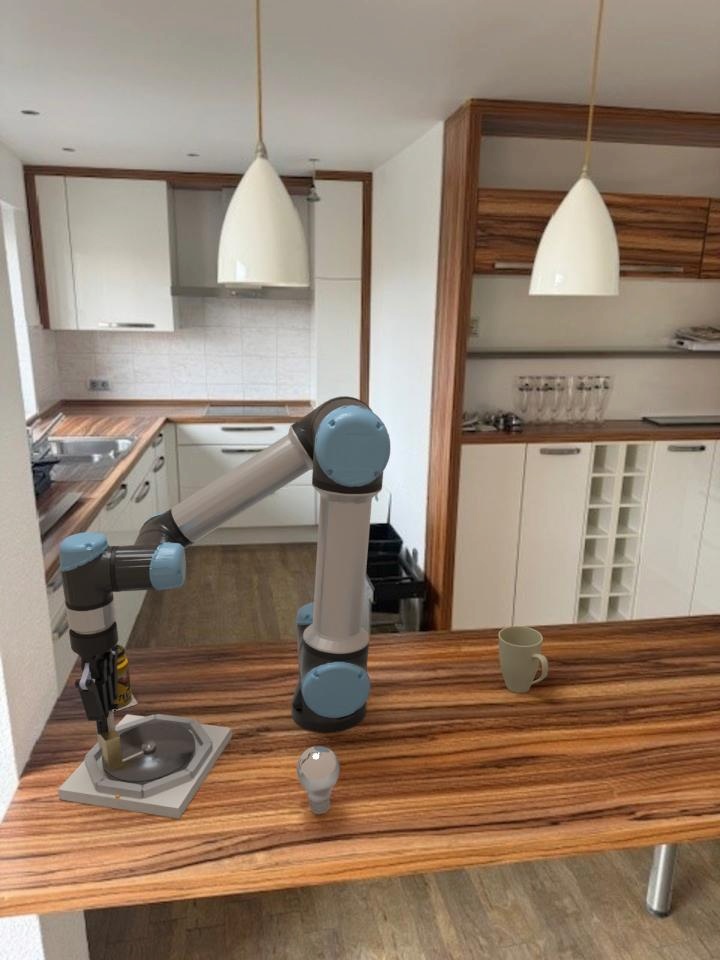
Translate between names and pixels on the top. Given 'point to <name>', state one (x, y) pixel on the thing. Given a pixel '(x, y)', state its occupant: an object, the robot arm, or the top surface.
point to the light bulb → (318, 776)
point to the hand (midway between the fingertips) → (108, 745)
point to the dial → (146, 752)
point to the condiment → (123, 681)
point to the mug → (521, 657)
